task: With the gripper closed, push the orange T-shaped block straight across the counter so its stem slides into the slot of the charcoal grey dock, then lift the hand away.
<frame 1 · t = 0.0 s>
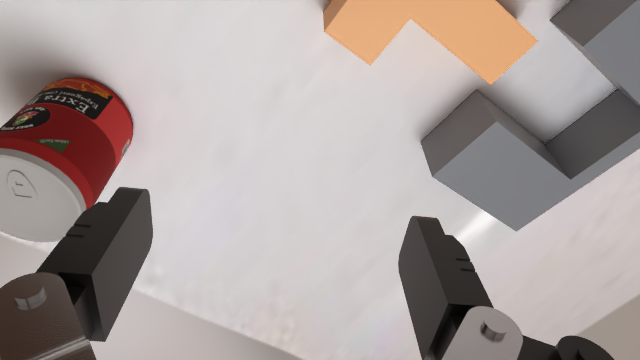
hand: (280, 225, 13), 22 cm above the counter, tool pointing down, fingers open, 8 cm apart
canned food: (91, 115, 36), on the counter
dock: (511, 57, 33), on the counter
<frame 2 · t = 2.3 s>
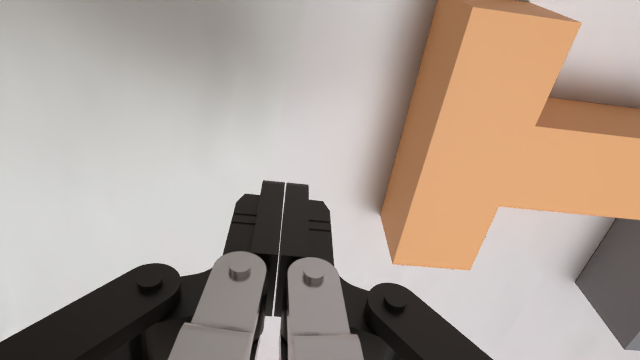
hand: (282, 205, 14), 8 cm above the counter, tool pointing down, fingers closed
t block: (444, 123, 21), on the counter
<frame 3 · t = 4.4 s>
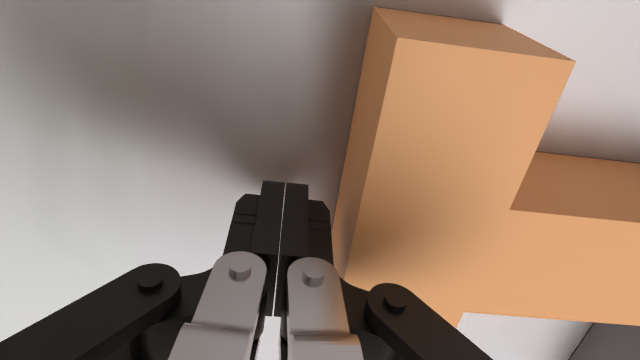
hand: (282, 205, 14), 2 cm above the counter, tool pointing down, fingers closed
t block: (394, 185, 15), on the counter, touching gripper
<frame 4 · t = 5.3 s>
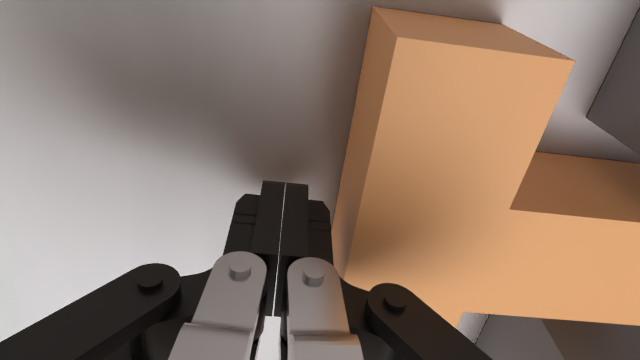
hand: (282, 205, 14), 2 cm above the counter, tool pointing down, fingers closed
dock: (544, 202, 16), on the counter
t block: (393, 185, 15), on the counter, touching gripper
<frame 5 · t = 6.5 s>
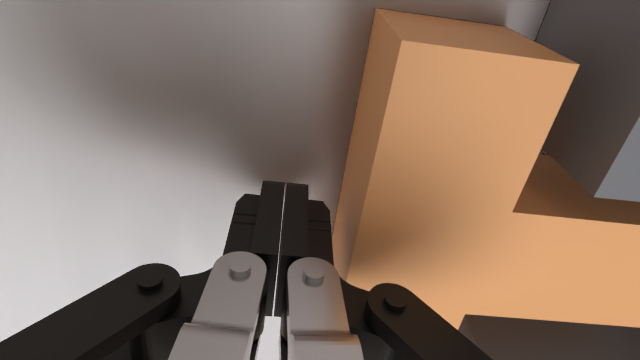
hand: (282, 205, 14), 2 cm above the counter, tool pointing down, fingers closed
dock: (473, 200, 16), on the counter
t block: (395, 187, 15), on the counter, touching gripper
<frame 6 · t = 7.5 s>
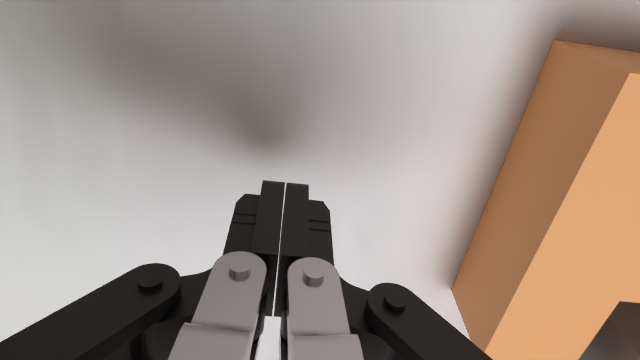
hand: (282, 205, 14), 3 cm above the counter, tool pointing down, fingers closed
dock: (603, 203, 18), on the counter
t block: (538, 191, 18), on the counter
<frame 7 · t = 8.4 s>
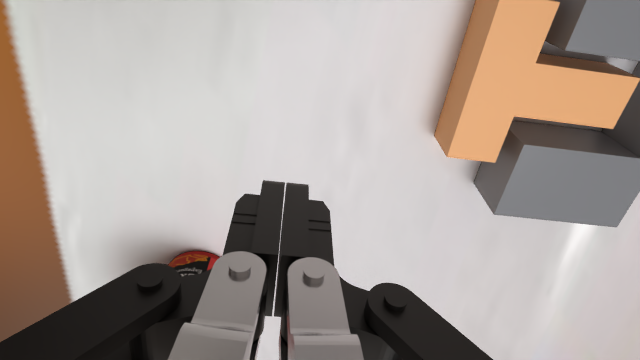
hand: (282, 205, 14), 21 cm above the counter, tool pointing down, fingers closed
canned food: (202, 275, 44), on the counter
dock: (513, 78, 34), on the counter
t block: (478, 70, 33), on the counter
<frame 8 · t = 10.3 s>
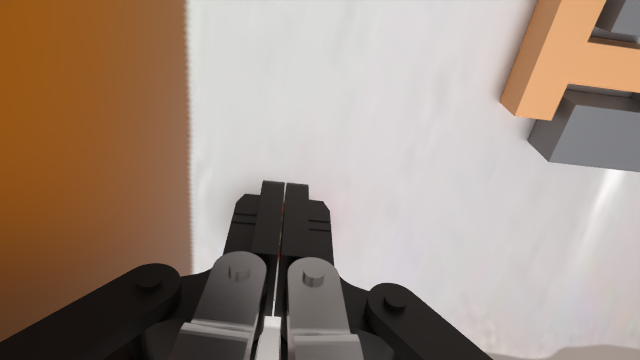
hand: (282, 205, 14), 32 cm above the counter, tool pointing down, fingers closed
dock: (564, 55, 44), on the counter
t block: (538, 50, 43), on the counter
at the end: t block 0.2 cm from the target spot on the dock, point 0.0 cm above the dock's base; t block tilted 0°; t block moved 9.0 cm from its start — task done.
